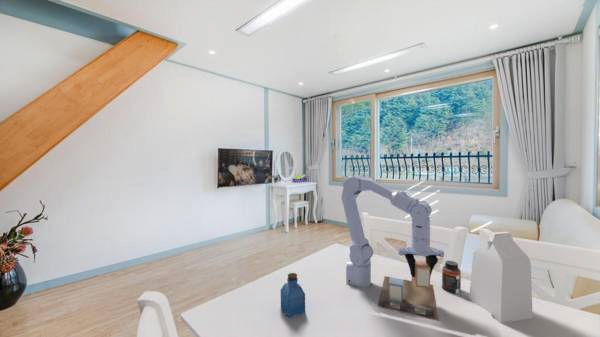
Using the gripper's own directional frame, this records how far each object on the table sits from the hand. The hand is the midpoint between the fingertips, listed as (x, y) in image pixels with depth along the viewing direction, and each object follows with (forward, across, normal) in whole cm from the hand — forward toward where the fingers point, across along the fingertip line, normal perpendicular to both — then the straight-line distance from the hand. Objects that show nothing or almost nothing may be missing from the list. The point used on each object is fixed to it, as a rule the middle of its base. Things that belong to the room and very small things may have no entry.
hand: (420, 275), depth 85 cm
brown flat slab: (+10, -3, +4) cm, 11 cm away
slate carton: (+9, -8, -1) cm, 12 cm away
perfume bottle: (+10, -44, -8) cm, 46 cm away
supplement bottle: (+10, +14, +9) cm, 20 cm away
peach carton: (+3, 0, 0) cm, 3 cm away
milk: (+10, +25, 0) cm, 27 cm away
